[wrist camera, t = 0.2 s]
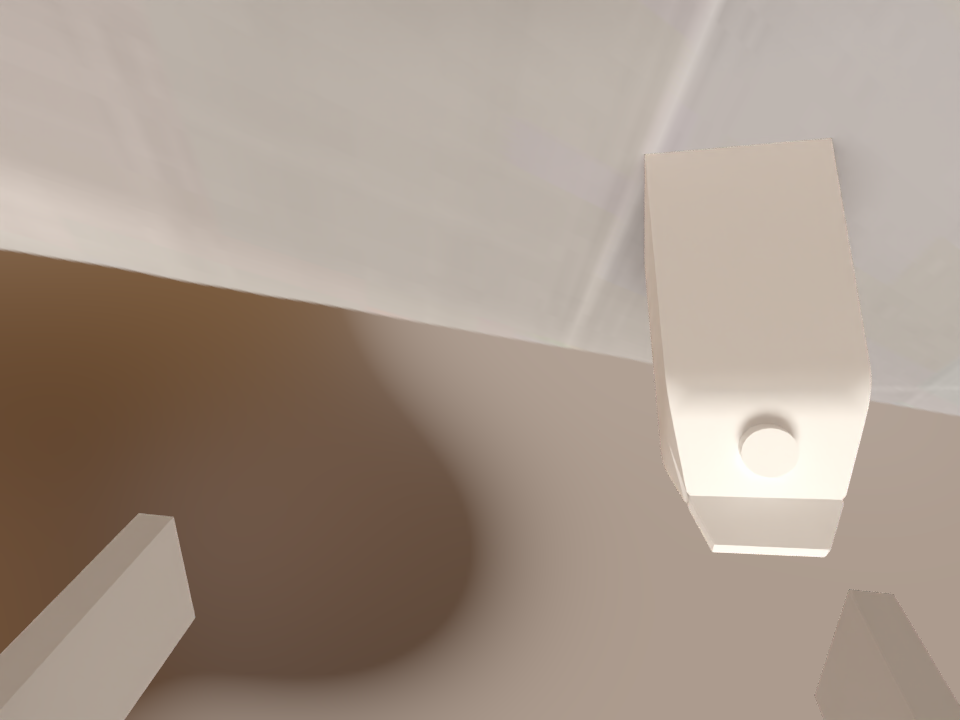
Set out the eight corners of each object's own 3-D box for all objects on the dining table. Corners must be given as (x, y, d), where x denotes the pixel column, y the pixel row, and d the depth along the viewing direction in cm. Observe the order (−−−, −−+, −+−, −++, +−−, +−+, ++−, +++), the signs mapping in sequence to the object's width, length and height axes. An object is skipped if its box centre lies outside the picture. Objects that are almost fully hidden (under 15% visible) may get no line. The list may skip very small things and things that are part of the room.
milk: (644, 262, 56) (653, 573, 42) (644, 154, 46) (657, 510, 32) (797, 254, 53) (862, 584, 39) (831, 137, 43) (931, 519, 30)
